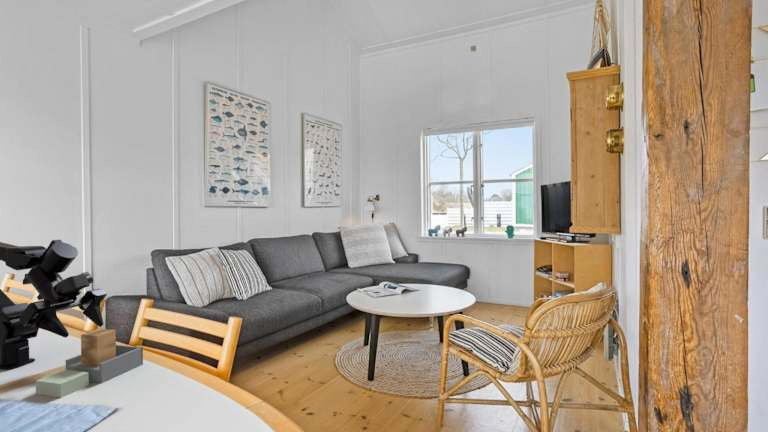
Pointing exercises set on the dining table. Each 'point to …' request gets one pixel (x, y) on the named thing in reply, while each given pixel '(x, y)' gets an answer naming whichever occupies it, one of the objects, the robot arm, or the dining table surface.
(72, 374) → the step
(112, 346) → the oak pillar
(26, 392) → the dining table surface
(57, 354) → the dining table surface
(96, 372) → the tray
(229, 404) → the dining table surface
